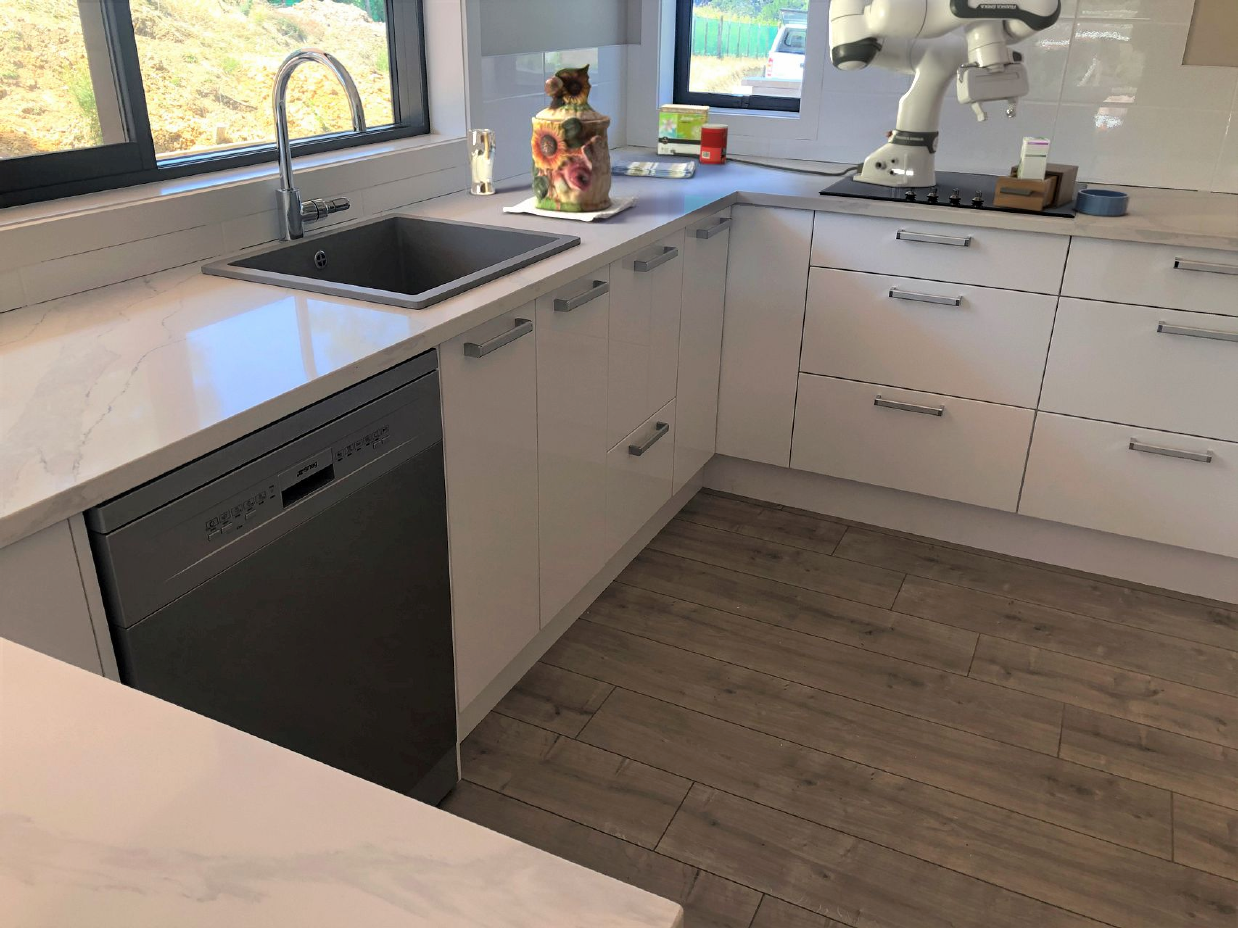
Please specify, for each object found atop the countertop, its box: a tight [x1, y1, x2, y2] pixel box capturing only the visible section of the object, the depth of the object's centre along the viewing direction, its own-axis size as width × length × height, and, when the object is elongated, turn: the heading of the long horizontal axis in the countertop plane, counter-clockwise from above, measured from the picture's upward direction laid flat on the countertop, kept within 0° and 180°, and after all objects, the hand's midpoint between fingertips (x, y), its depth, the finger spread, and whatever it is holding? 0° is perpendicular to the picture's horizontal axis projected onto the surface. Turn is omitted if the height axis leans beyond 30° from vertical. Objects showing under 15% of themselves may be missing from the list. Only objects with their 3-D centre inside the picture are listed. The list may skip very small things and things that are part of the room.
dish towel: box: [611, 160, 696, 179], centre depth 288 cm, size 17×24×3 cm
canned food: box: [699, 123, 729, 165], centre depth 307 cm, size 8×8×11 cm
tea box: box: [657, 103, 710, 156], centre depth 322 cm, size 15×10×15 cm, turn 81°
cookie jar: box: [503, 63, 638, 222], centre depth 229 cm, size 25×25×32 cm
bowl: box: [1074, 188, 1131, 217], centre depth 246 cm, size 12×12×4 cm
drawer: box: [992, 172, 1058, 212], centre depth 247 cm, size 18×11×7 cm, turn 144°
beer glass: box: [467, 128, 497, 196], centre depth 251 cm, size 7×7×15 cm
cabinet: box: [1009, 162, 1080, 209], centre depth 257 cm, size 15×13×9 cm
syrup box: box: [1017, 136, 1051, 181], centre depth 247 cm, size 6×6×14 cm
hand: (997, 119), depth 245 cm, fingers open, 8 cm apart
